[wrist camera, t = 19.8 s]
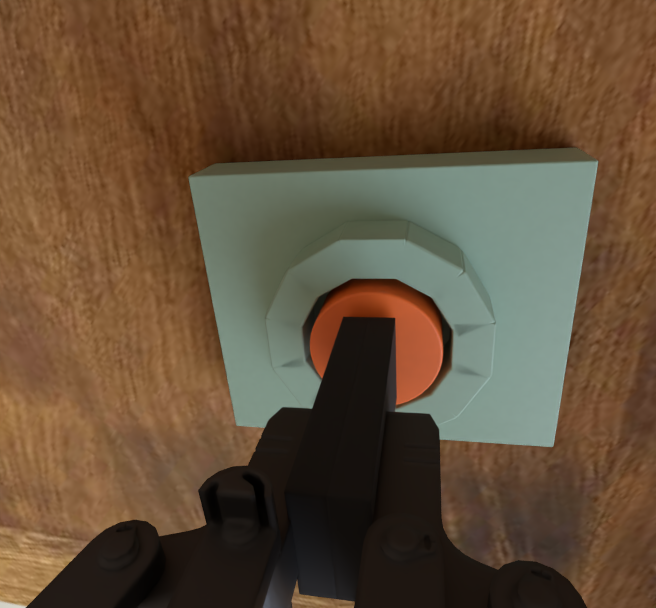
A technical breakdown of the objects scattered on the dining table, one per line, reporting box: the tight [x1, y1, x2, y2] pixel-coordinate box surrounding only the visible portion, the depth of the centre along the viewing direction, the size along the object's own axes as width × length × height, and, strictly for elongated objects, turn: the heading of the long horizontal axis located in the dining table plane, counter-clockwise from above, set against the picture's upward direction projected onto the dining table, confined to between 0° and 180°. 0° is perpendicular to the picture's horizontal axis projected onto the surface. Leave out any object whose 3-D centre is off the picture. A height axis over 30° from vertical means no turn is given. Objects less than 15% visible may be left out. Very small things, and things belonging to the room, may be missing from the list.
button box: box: [189, 148, 598, 447], centre depth 17 cm, size 12×10×4 cm
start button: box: [310, 279, 443, 405], centre depth 16 cm, size 4×4×2 cm
